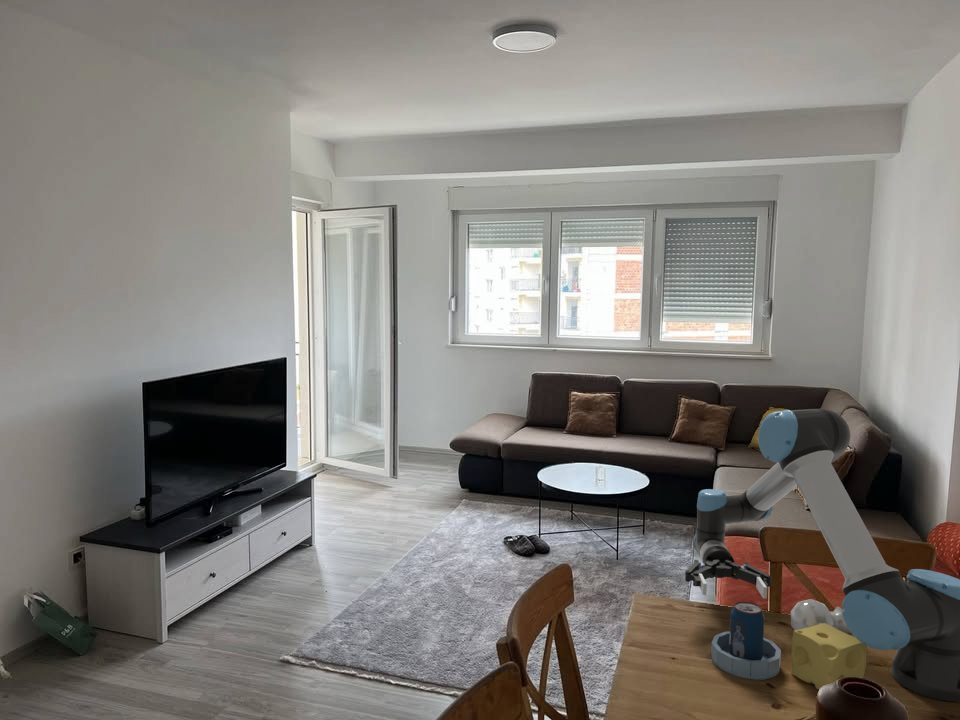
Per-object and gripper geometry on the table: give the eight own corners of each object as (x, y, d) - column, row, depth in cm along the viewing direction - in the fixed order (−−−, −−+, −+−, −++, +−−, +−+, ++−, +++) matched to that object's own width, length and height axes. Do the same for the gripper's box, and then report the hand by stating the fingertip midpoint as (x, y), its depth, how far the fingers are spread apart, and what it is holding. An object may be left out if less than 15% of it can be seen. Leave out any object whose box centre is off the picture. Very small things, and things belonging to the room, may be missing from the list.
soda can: (761, 654, 160) (763, 602, 158) (763, 669, 153) (766, 615, 152) (728, 649, 162) (730, 598, 160) (729, 664, 155) (731, 611, 154)
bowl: (782, 656, 160) (783, 640, 160) (776, 686, 148) (777, 669, 148) (717, 641, 167) (718, 626, 166) (706, 669, 154) (707, 652, 154)
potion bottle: (785, 644, 169) (840, 646, 172) (811, 636, 161) (868, 639, 164) (777, 603, 174) (830, 606, 177) (801, 594, 166) (857, 597, 169)
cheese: (829, 698, 144) (832, 651, 143) (787, 672, 154) (789, 628, 153) (865, 687, 148) (868, 641, 147) (821, 663, 158) (824, 619, 157)
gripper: (765, 575, 186) (790, 610, 165) (668, 570, 190) (679, 603, 169) (766, 547, 186) (791, 578, 165) (668, 542, 189) (680, 572, 168)
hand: (734, 591), depth 167 cm, fingers open, 13 cm apart
